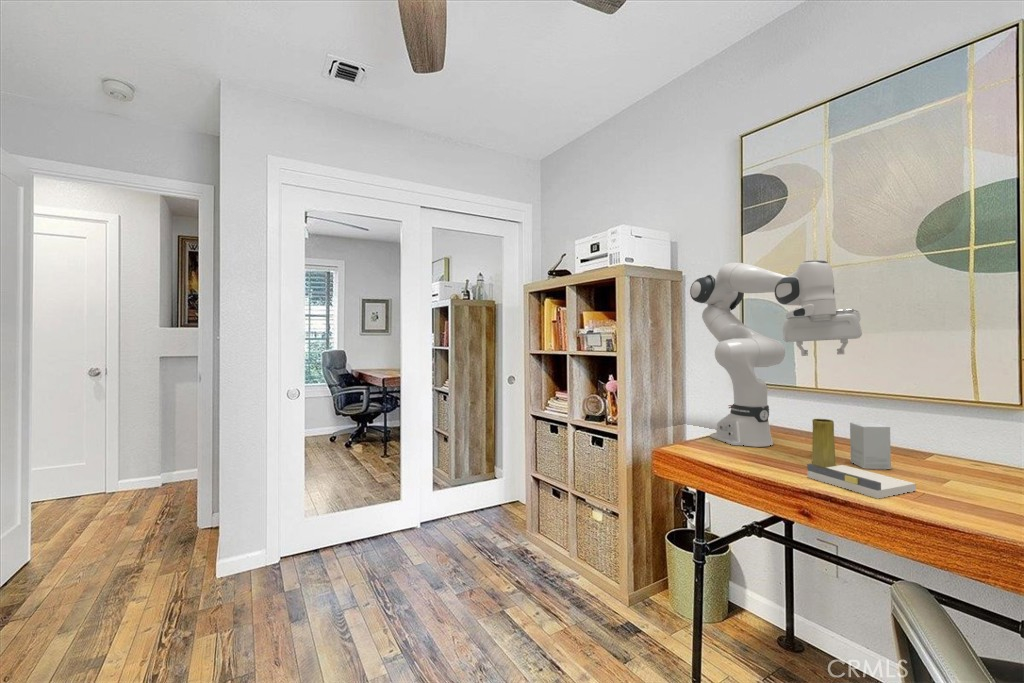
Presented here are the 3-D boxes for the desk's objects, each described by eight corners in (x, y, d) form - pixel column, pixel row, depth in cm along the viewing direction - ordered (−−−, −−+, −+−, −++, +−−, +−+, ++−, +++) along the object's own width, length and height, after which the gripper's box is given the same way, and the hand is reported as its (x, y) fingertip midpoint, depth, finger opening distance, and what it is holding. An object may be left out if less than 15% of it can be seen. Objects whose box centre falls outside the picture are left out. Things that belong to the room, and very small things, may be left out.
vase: (837, 471, 130) (836, 422, 130) (811, 468, 133) (810, 421, 133) (835, 466, 135) (834, 419, 135) (811, 463, 138) (810, 417, 138)
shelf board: (806, 477, 125) (806, 464, 125) (842, 471, 130) (842, 458, 130) (876, 499, 108) (876, 483, 108) (915, 491, 113) (915, 476, 113)
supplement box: (892, 470, 131) (891, 426, 130) (863, 469, 132) (862, 426, 132) (876, 463, 138) (876, 422, 138) (849, 462, 139) (849, 421, 139)
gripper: (855, 309, 139) (860, 354, 137) (780, 314, 146) (783, 356, 145) (862, 306, 133) (867, 353, 132) (783, 312, 141) (786, 356, 139)
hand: (822, 355), depth 139 cm, fingers open, 8 cm apart
